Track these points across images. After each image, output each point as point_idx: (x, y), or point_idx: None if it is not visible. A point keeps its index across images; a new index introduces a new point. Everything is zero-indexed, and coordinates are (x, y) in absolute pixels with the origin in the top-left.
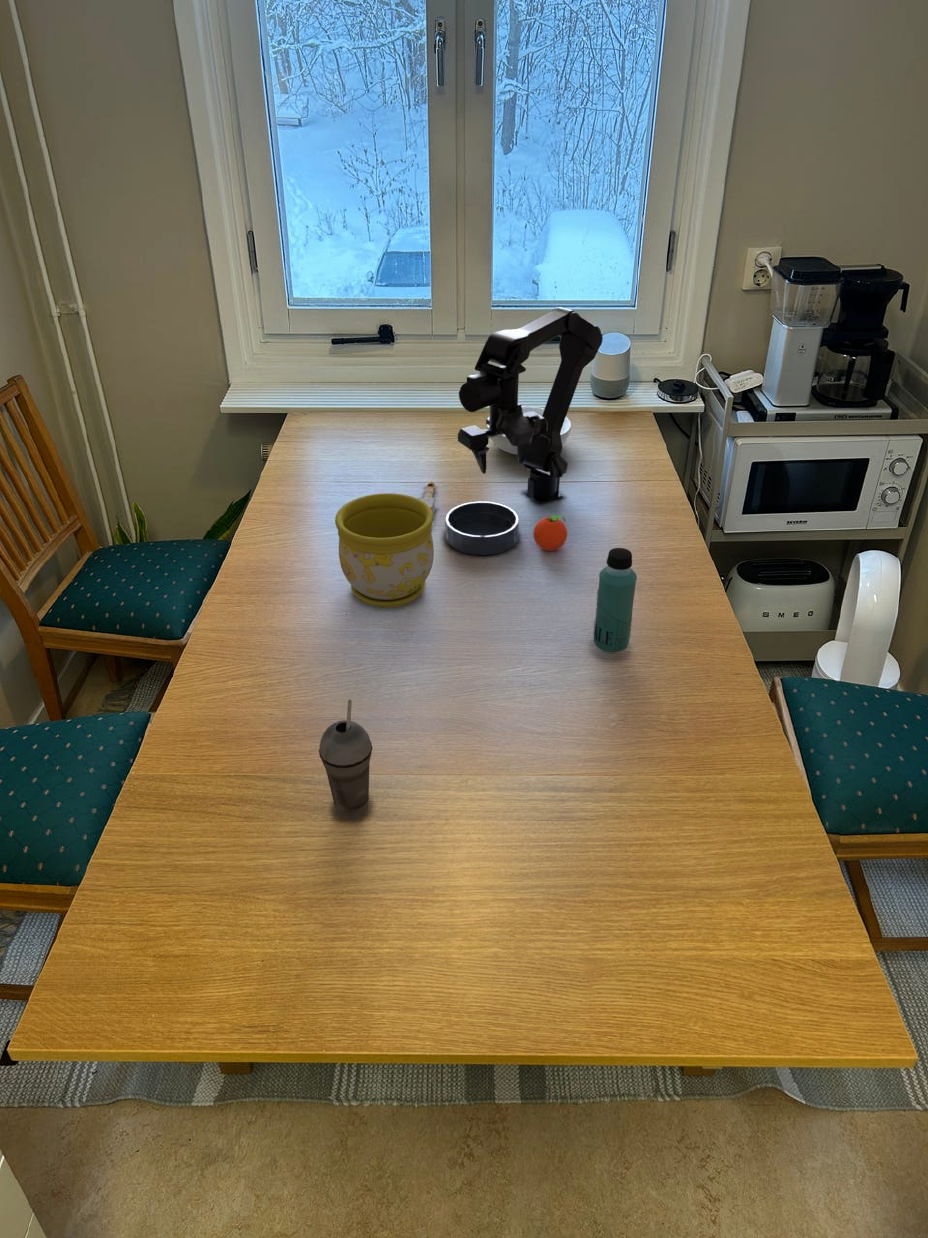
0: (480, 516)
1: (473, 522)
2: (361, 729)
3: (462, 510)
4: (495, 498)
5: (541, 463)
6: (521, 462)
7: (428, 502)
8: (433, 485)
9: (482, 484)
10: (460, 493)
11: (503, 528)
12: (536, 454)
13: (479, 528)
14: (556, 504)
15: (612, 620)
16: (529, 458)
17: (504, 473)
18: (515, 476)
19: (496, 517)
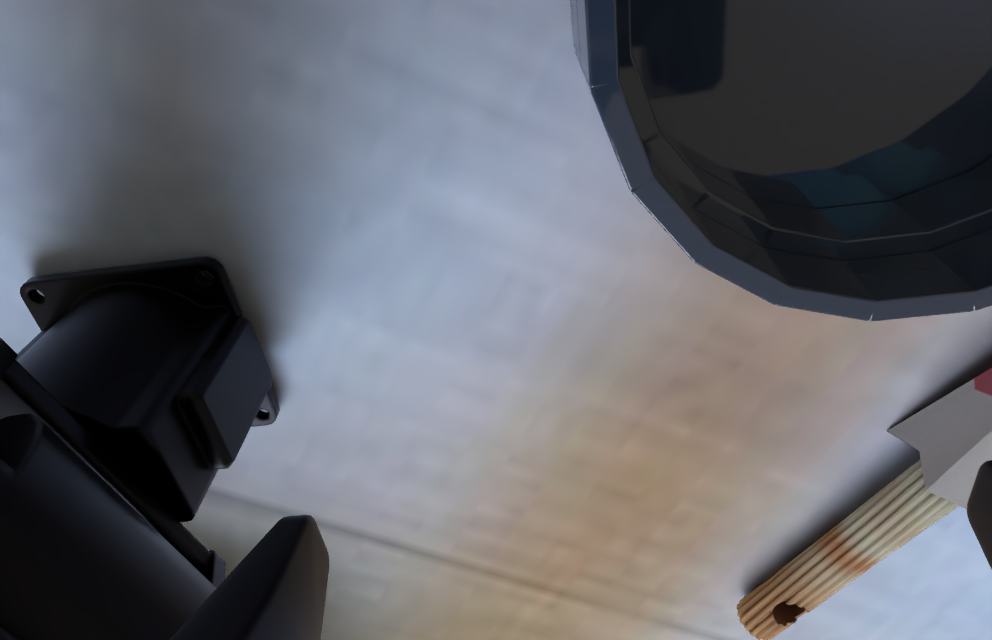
0: (757, 207)
1: (801, 193)
2: None
3: (929, 269)
4: (481, 418)
5: (17, 490)
6: (300, 529)
7: None
8: (769, 609)
9: (481, 554)
10: (641, 522)
11: (651, 2)
12: (28, 631)
13: (822, 89)
14: (96, 209)
15: None
16: (146, 608)
17: None
18: None
19: (662, 132)
